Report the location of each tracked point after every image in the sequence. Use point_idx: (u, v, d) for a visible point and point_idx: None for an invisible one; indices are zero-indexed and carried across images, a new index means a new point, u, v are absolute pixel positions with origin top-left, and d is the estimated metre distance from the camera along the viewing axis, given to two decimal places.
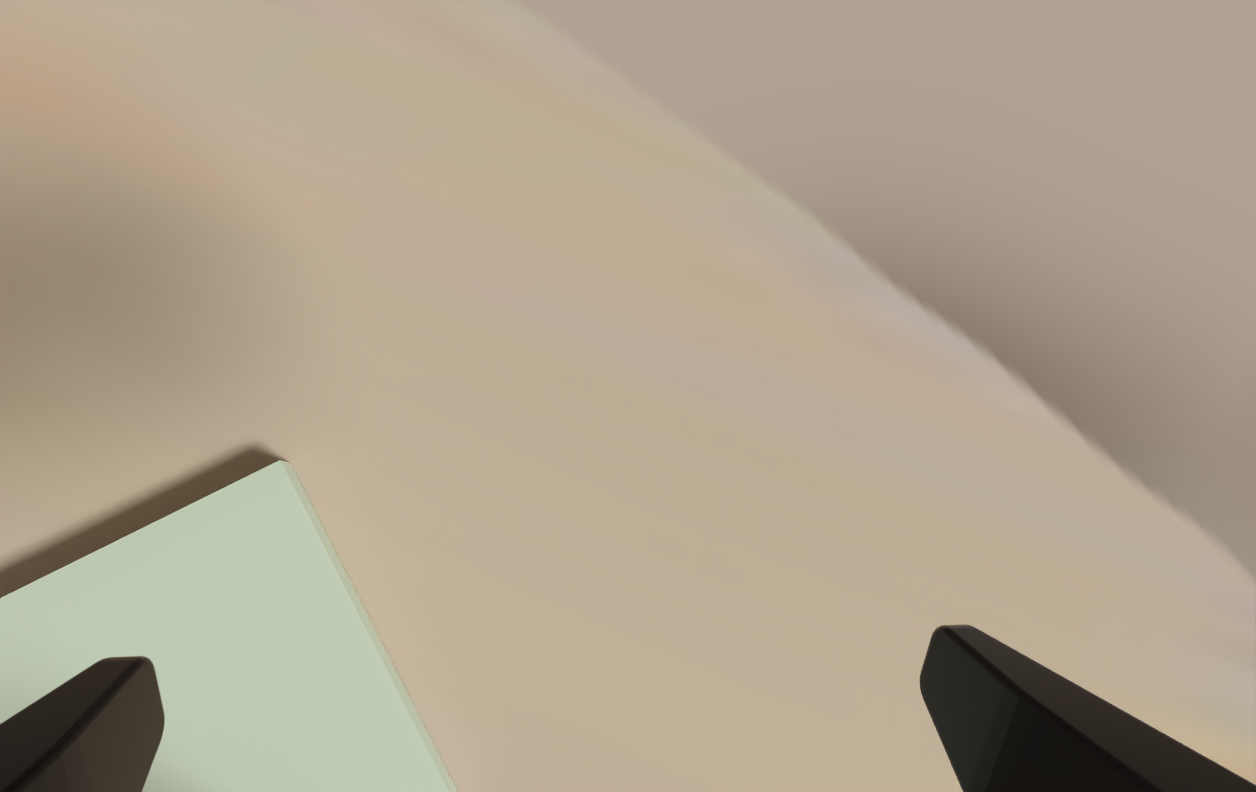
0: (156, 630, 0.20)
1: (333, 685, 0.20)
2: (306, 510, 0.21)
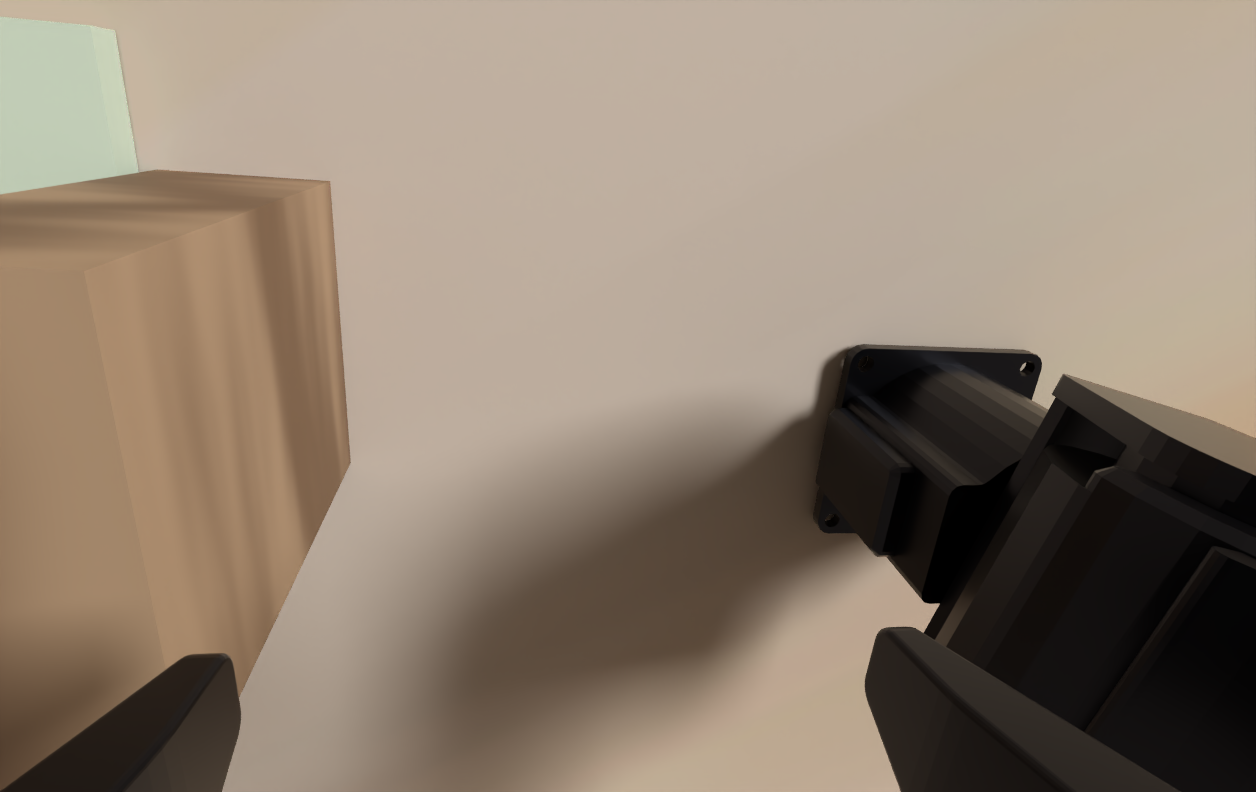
0: None
1: None
2: None
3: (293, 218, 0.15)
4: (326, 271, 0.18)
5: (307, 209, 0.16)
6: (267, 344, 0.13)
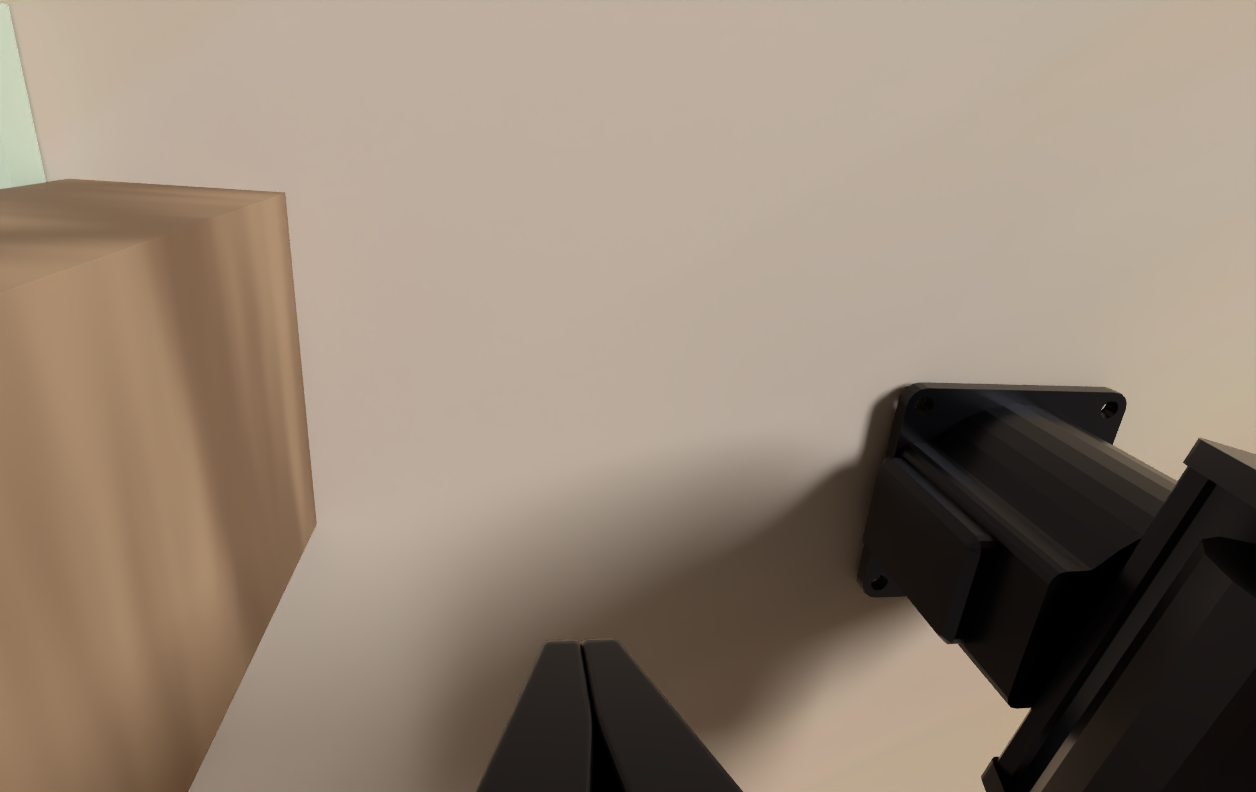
0: None
1: None
2: None
3: (226, 242, 0.12)
4: (280, 303, 0.14)
5: (249, 229, 0.13)
6: (185, 412, 0.10)
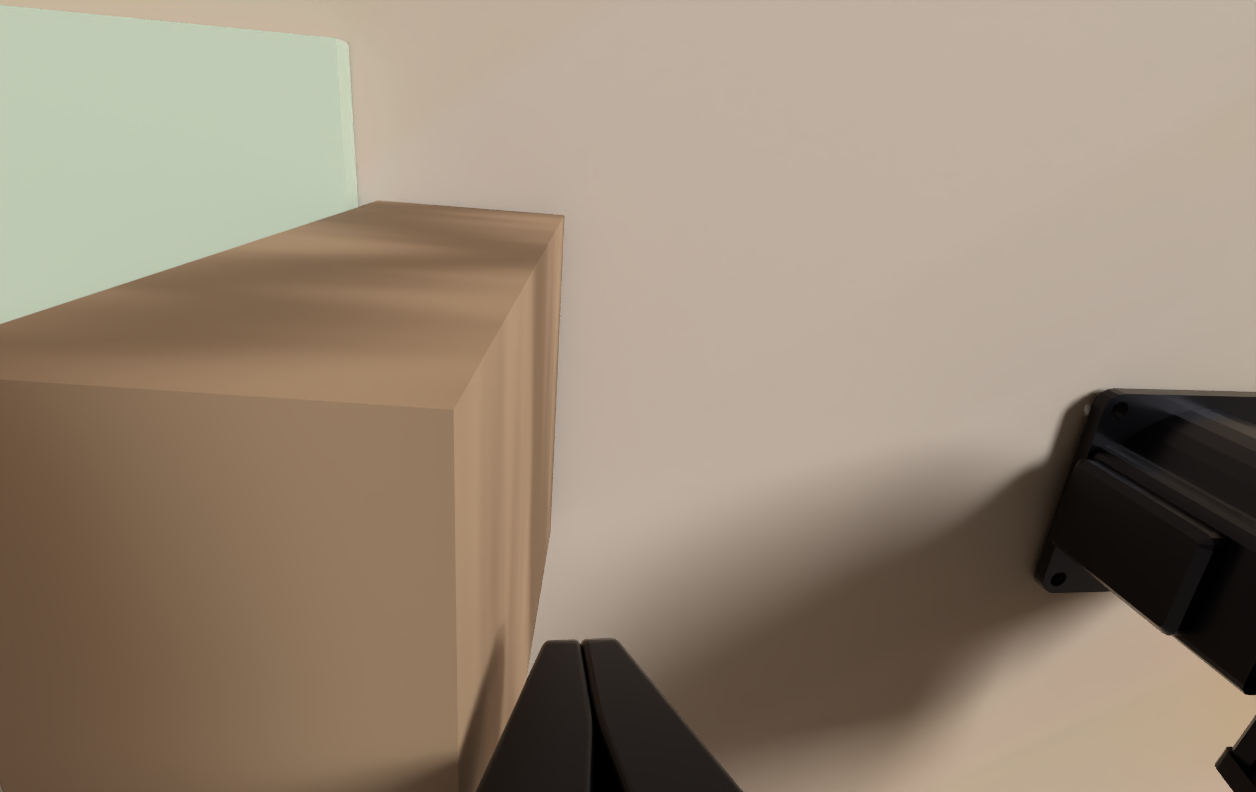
0: None
1: (26, 97, 0.13)
2: None
3: (549, 266, 0.12)
4: (556, 321, 0.15)
5: (554, 252, 0.13)
6: (530, 429, 0.11)
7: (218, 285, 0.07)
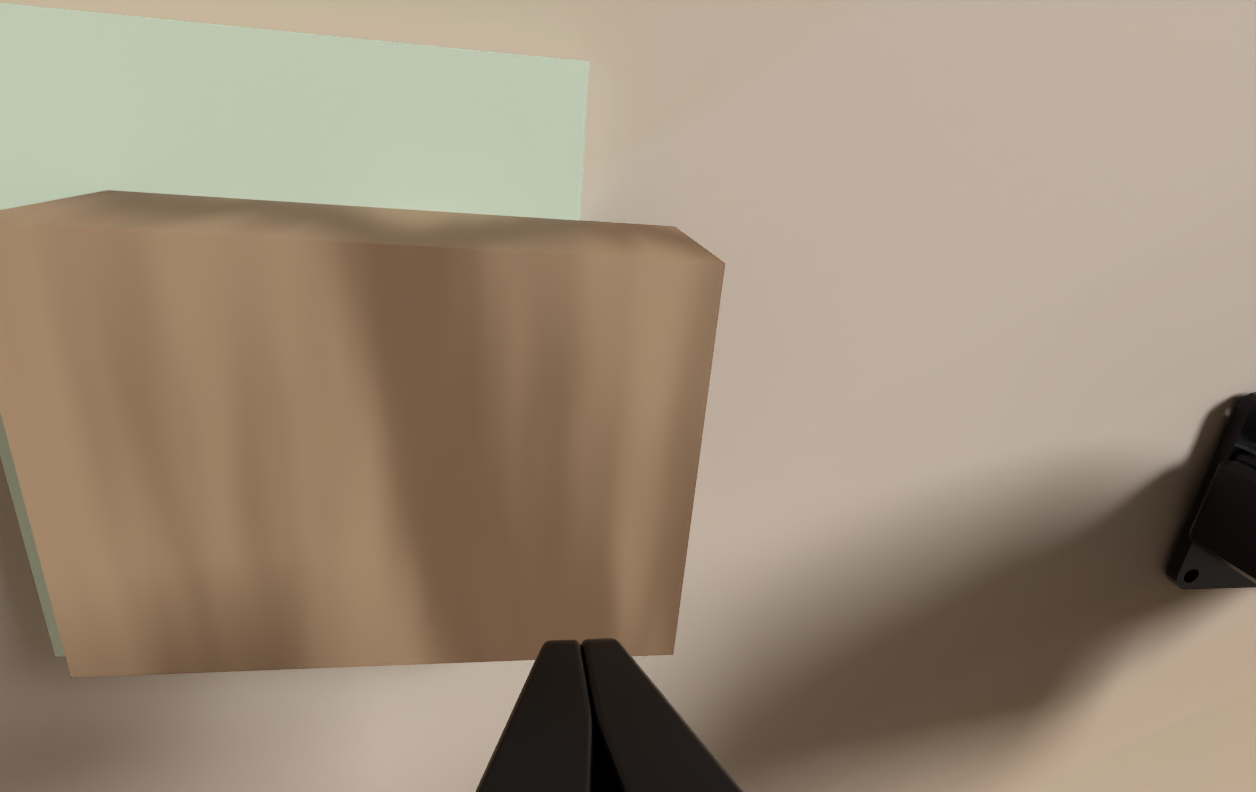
0: None
1: (302, 117, 0.13)
2: None
3: (513, 280, 0.11)
4: (653, 382, 0.12)
5: (585, 282, 0.11)
6: (366, 400, 0.11)
7: (258, 206, 0.13)
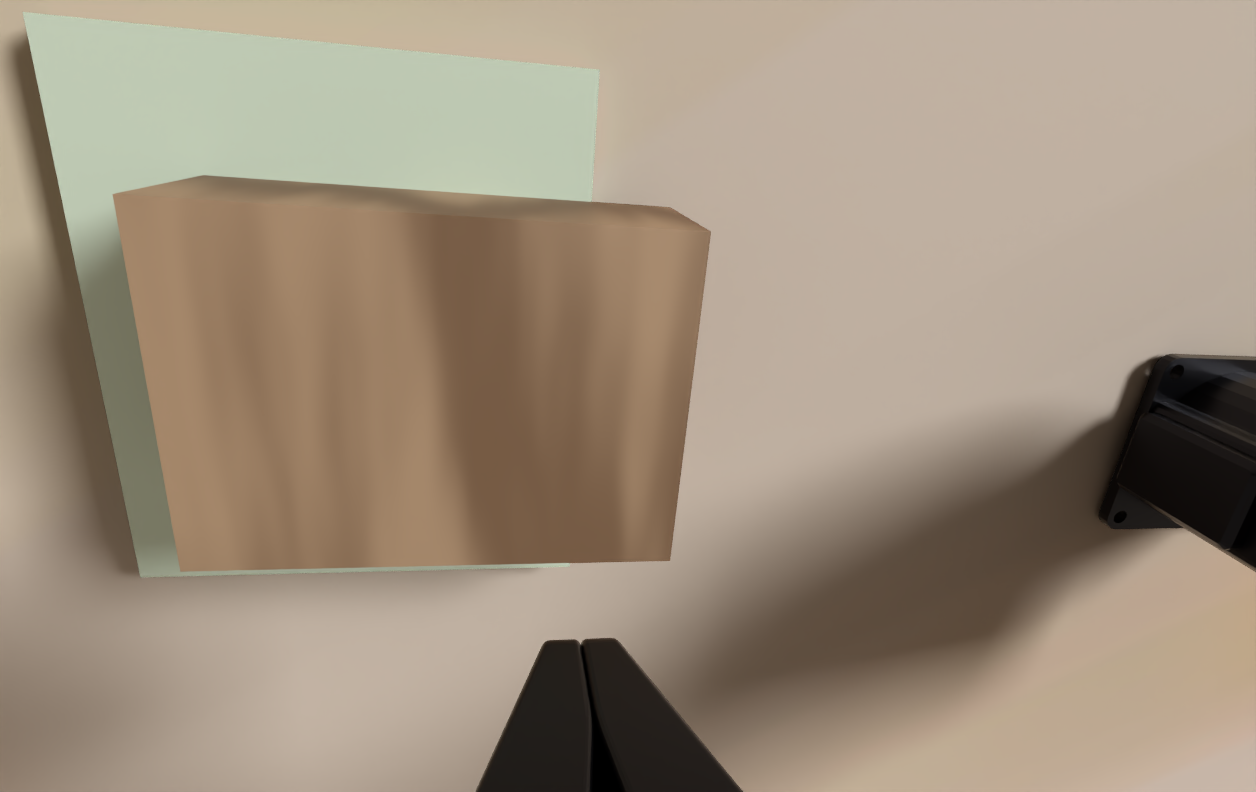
0: None
1: (364, 115, 0.16)
2: (117, 22, 0.15)
3: (543, 244, 0.14)
4: (654, 328, 0.15)
5: (601, 246, 0.14)
6: (425, 341, 0.14)
7: (329, 188, 0.16)
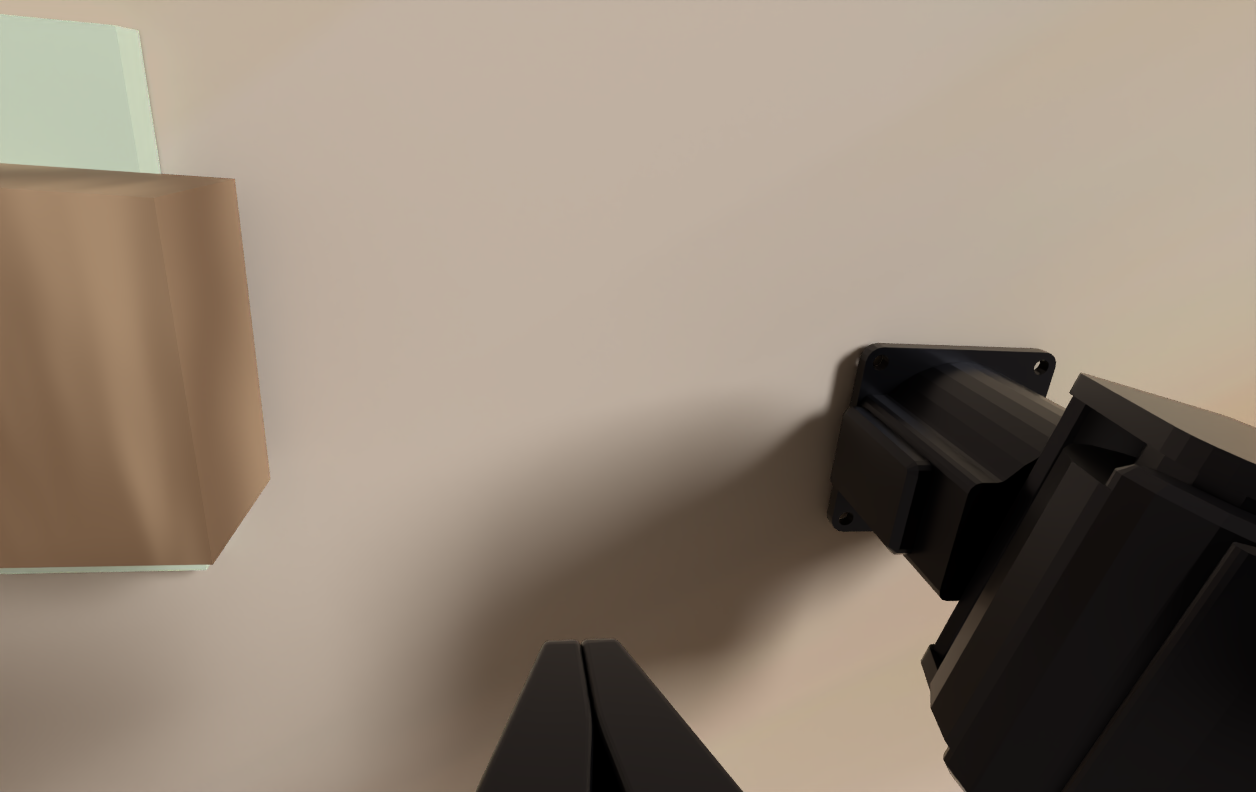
0: None
1: None
2: None
3: None
4: (116, 307, 0.13)
5: (21, 213, 0.13)
6: None
7: None
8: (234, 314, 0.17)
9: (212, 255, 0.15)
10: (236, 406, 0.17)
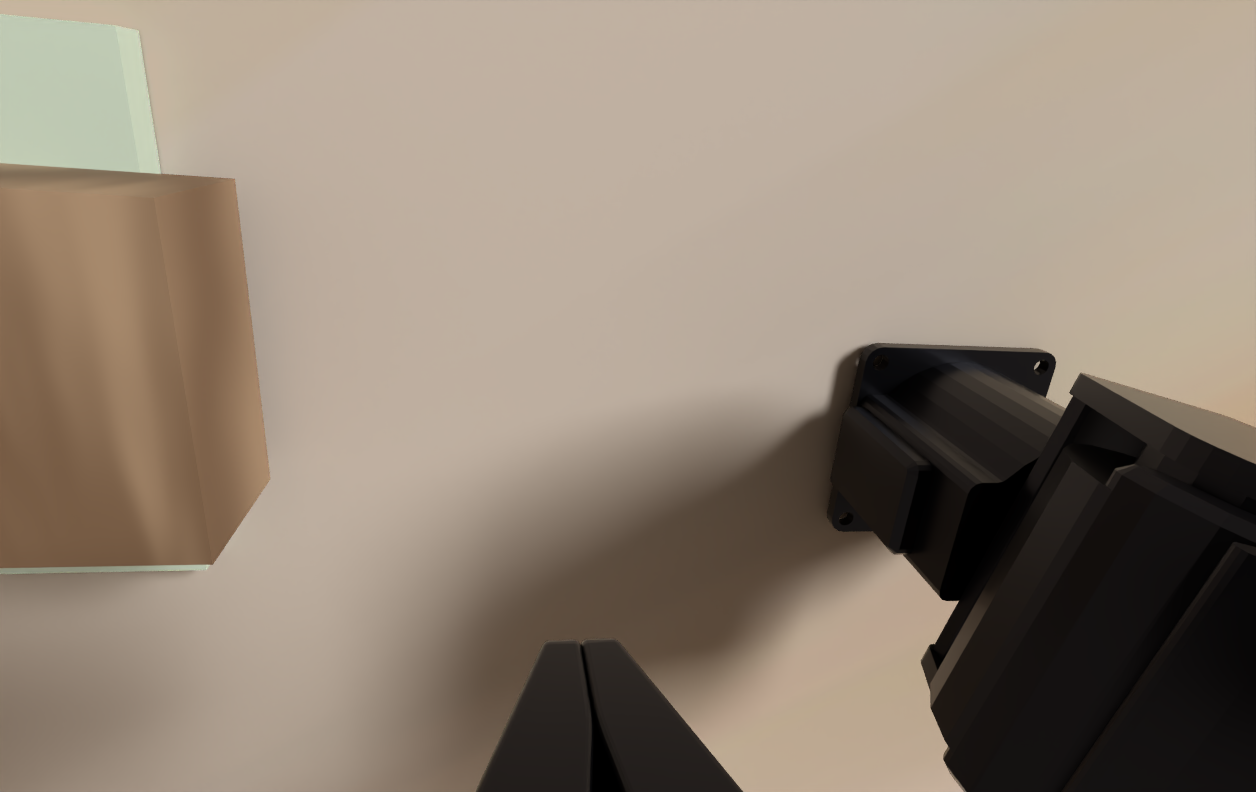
0: None
1: None
2: None
3: None
4: (116, 307, 0.13)
5: (21, 213, 0.13)
6: None
7: None
8: (234, 314, 0.17)
9: (212, 255, 0.15)
10: (236, 406, 0.17)
